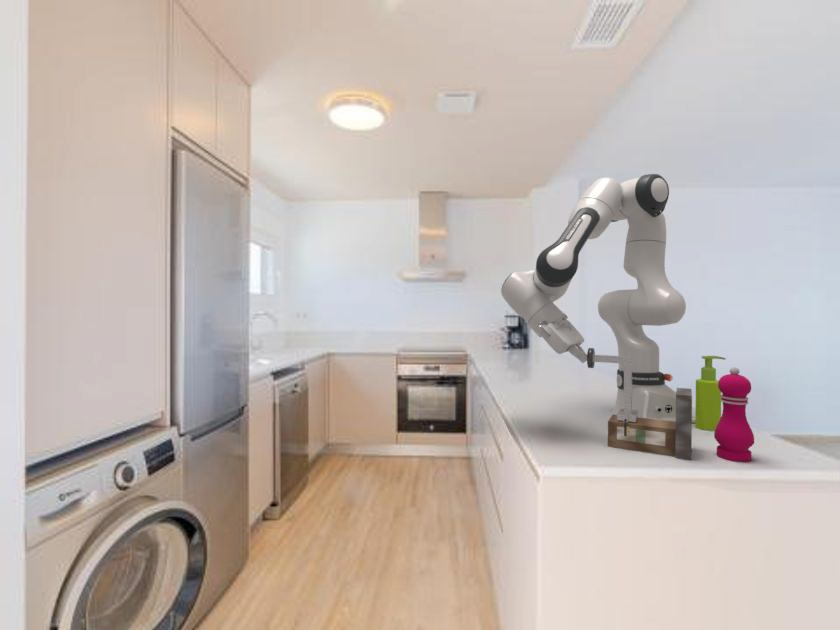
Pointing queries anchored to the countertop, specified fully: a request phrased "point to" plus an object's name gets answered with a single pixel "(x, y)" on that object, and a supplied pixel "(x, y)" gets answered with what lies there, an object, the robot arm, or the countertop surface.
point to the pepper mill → (734, 418)
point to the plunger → (627, 412)
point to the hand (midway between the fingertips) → (586, 360)
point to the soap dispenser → (708, 397)
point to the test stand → (657, 431)
